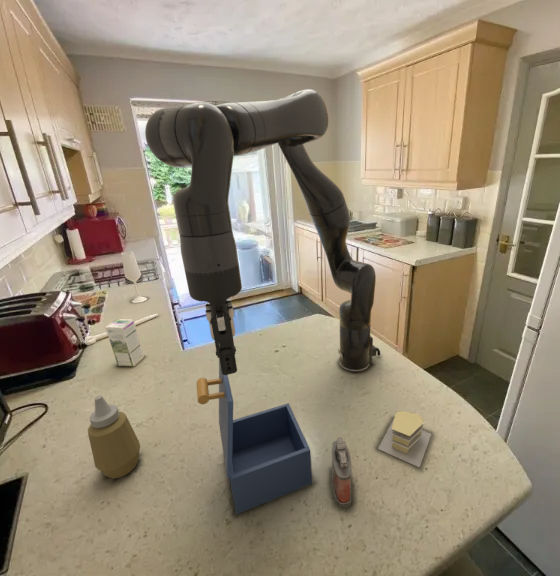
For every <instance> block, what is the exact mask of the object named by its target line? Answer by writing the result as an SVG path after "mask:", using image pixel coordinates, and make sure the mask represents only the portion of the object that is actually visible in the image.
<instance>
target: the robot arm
mask: <svg viewBox="0 0 560 576" xmlns="http://www.w3.org/2000/svg"><path fill="white" fill-rule="evenodd" d="M329 119H330V118H329V111H328V108H327V105H326V103H325V100H324V98H323V97H322V95H321V94H320V93H319V92H318V91H316V90H315V89H310V88H307V89H302V90H298V91H297V92H293V93H290V94H289V95H285V96H283V97H281V98H279V99H270V100H257V101H233V102H224V103H219V104H216V105H214V104H212V103H210V102H205V101H204V102H202V101H199V102H193V103H192V102H191V103H187V104H181V105H173V106H167V107H163V108H162V107H161V108H159V109H158V110H156V111H155V112H153V113H152V114H150V117H148V119H147V122H146V125H145V129H144V130H145V131H144V133H145V134H144V135H145V142H146V144H147V147H148V148H149V150H150V152H151V154H153V156H154V157H156V159H157V160H159V161H160V162H162V164H164V165H167V166H170V167H171V168H177V169H186V168H187V169H188V168H191V173H190V174H191V175H190V183H189V185H188V186H186V187H183V188H180V189H179V190H177V191H176V192H175V193H174V194H173V197H172V198H173V199H172V200H173V202H172V203H173V209H174V214H175V221H176V224H177V230H178V234H179V242H180V243H179V244H180V245H179V247H180V254H181V259H182V264H183V269H184V275H185V279H186V283H187V288H188V293H189V297H190V298H191V299H192V300H194V301H197V302H201V303H202V302H205V304H204V305H205V311H204V312H205V317H206V320H207V322H208V326H209V331H210V337H211V339H212V340H214V345H215V356H217V357H216V358H217V359H218V360H219V359H220V365H221V370H222V374H223V375H228V376H229V375H232V374H236V373H237V372H238V367H237V360H236V352H237V349H236V345H235V342H234V337H235V335H236V327H235V321H234V317H235V311H234V306H233V302H232V299H231V298H232V297H235V296H237V295H238V294H240V292H241V291H242V288H243V285H242V277H241V271H240V269H241V268H240V262H239V256H238V255H239V254H238V248H237V243H236V238H235V236H234V231H233V226H232V217H231V211H230V206H229V196H230V189H231V182H232V172H233V164H234V157H238V156H239V157H240V156H244V155H247V154H251V153H254V152H257V151H262V150H263V149H266V148H270V147H272V146H274V145H276V144H277V145H278V147H279V149H280V151H281V152H282V155H283V156H284V158H285V161H286V162H287V165H288V166H289V168H290V170H291V172H292V174H293V177H294V179H295V181H296V182H297V185H298V188H299V190H300V192H301V195H302V198H303V200H304V202H305V205H306V208H307V211H308V214H309V215H310V218H311V220H312V223H313V225H314V228H315V230H316V232H317V235H318V237H319V240H320V243H321V245H322V248H323V250H324V253H325V256H326V259H327V262H328V266H329V270H330V273H331V277H332V280H333V283H334V284H335V286H336V287H337V288H338V289H340V290H341V291H344V292H346V293H349V294H351V298H350V299H348V300H345V301H343V302H342V303H340V305H339V310H338V311H339V312H338V313H339V348H338V349H337V351H338V352H337V353H338V355H339V366H340V367H341V368H342V369H343V370H344V371H347V372H351V373H360V372H363V371H367V369H369V367H370V366H372V365H373V357H377V356H378V357H380V356H381V349H379V347H376V346H375V345H374V337H372V335H371V322H372V320H371V319H372V309H373V306H374V303H375V302H374V301H375V292H376V280H377V279H376V277H377V275H376V271H375V268H374V266H372V264H370V263H366V262H364V261H363V262H362V261H359V260H355V259H353V258H352V256H351V253H350V252H349V248H348V245H347V237H348V233H349V230H350V226H351V215H350V211H349V207H348V205H347V201H346V198H345V195H344V193H343V191H342V189H341V188H340V187H339V186H338V185H337V184H336V183H335V182H334V181H333V180H332V179H331V178H330V177H328V176H327V175H326V174H325V173H324V172H323V171H321V169H320V168H318V166H317V165H315V162H313V160H312V159H311V157H310V156H309V154H308V152H307V150H306V148H305V144H309V143H311V142H315V141H318V140H319V139H321V138H323V137H324V136H325V135H326V133H327V131H328V129H329V122H330V121H329Z"/></svg>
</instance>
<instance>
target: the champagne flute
mask: <svg viewBox="0 0 560 576" xmlns="http://www.w3.org/2000/svg"><path fill="white" fill-rule="evenodd" d="M120 255H121V258H122V265H123V266H122V267H123V273H124V277H125V279H127V280H128V281H129V282H133V286H134V289H135V290H134V291H135V293H136V297H135V298H133V300H131V303H133V304H136V303H137V304H138V303H142V302H143V303H144V302H145V301H147V300H148V297H145V296H141V295H140V291H139V287H138V283H137V282H138V280H139V279H140V277H141V276H142V273H141V270H140V267H139V264H138V262H137V259H136V256H135V254H134V251H124V252H121V254H120Z"/></svg>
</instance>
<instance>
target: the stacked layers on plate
mask: <svg viewBox="0 0 560 576" xmlns="http://www.w3.org/2000/svg"><path fill="white" fill-rule="evenodd" d="M423 427H424V419H423V417H422V416H421V415H420V414H418V413H413V412H409V411H401V410H400V411H397V412H396V413H395V415H394V418H393V420H392V421H391V423H390V425H389V427H388V429H387V431H386V433H385V435H384V437H383V438H382V440H381V443H380V444H379V446H378V448H377V450H379V451H382V452H384V453H386V454H388V455H391V456H393V457H395V458H396V459H399V460H401V461H403V462H405V463H408V464H410V465H413V466H414V467H416V468H419V469H420V467H421V465H422V461H423V459H424V456H425V455H426V454H425V453H426V451H427V448H428V445H429V442H430V439H431V437H432V433H430V432H428V431H425V430H423Z"/></svg>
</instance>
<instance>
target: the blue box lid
mask: <svg viewBox="0 0 560 576" xmlns="http://www.w3.org/2000/svg"><path fill="white" fill-rule="evenodd" d="M214 385H215V386H216V385H218V392H213V393H210V391H209V386H214ZM196 394H197V395H196V396H197V402H198V404H199V405H205V404H208V402H209V401H211V400H218V426H219V432H220V440H221V448H222V454H223V459H224V467H225V468H224V469H225V474H226V478H227V479H230V477H232V445H233V420H234V398H233V393H232V389H231V385H230V380H229V374H228V375H223V374H222V370H221V365H220V359H219V358H218V378H214V379H207V378H205V377H200V378H198V379H197V380H196Z"/></svg>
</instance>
